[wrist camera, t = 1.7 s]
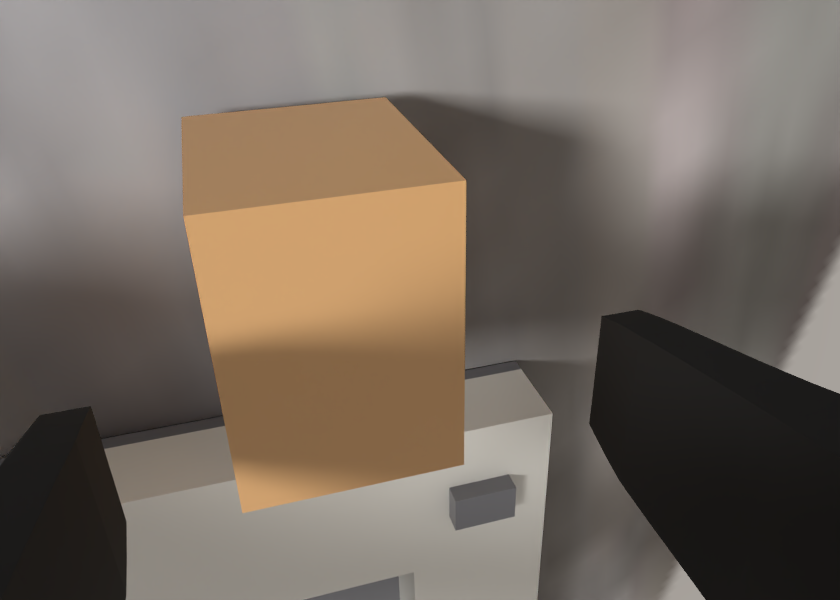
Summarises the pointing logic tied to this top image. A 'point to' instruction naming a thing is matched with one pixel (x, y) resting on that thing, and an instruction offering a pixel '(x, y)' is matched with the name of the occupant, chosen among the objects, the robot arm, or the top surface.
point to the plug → (328, 294)
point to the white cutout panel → (343, 515)
